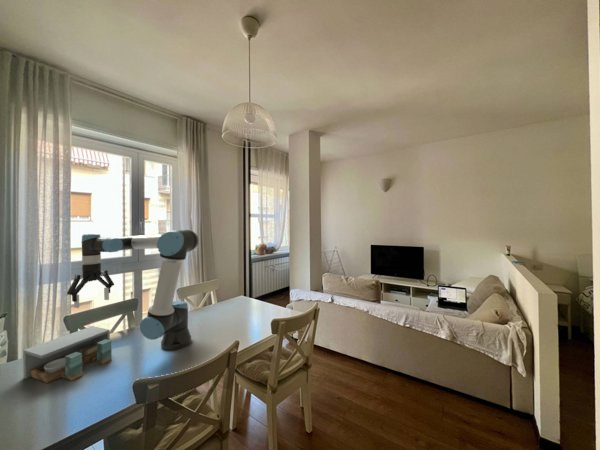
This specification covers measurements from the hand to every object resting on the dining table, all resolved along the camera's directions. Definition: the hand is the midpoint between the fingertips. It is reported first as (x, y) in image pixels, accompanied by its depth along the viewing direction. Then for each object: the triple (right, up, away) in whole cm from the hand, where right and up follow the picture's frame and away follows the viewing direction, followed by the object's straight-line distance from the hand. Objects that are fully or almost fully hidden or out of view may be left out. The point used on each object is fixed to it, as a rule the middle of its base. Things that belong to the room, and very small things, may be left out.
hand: (92, 303), depth 130 cm
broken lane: (+8, -25, -8) cm, 27 cm away
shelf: (+1, -25, -13) cm, 28 cm away
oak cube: (+4, -25, -7) cm, 26 cm away
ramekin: (0, -25, -19) cm, 31 cm away
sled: (+4, -25, -20) cm, 32 cm away
